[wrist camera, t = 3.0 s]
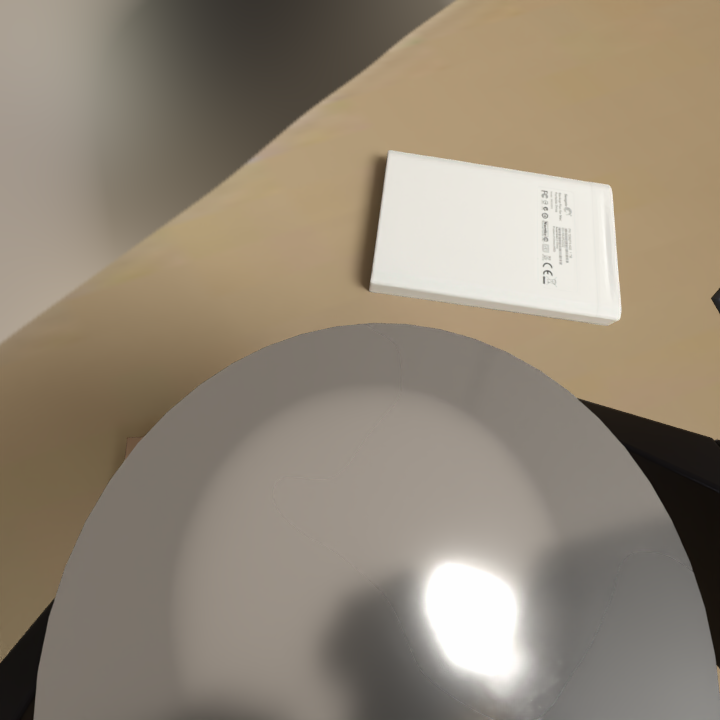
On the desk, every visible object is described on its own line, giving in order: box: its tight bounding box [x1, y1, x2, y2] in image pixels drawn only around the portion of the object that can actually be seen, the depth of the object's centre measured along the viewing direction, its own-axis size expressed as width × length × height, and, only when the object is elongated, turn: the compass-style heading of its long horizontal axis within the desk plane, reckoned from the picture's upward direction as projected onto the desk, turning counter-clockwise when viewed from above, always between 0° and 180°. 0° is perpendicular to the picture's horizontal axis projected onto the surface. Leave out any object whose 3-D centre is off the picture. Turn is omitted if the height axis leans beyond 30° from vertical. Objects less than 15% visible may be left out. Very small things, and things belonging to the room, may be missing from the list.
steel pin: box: [34, 323, 720, 720], centre depth 9 cm, size 4×4×13 cm
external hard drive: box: [369, 150, 621, 326], centre depth 19 cm, size 2×8×12 cm
